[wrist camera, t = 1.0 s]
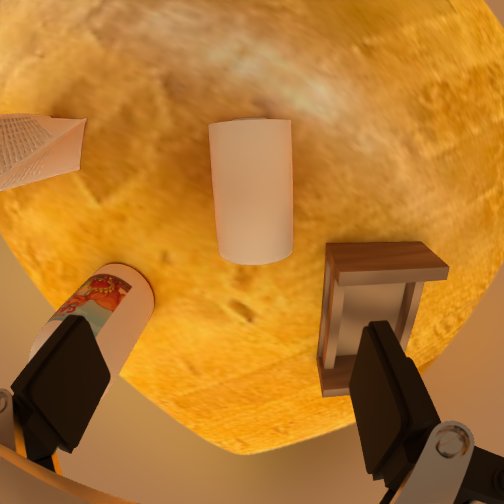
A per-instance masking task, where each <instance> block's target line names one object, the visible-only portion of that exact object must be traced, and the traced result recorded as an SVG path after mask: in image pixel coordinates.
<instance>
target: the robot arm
mask: <svg viewBox="0 0 504 504" xmlns="http://www.w3.org/2000/svg"><path fill="white" fill-rule="evenodd" d="M110 379H111V374H110V371H109V369H108V367H107V364H106V362H105V360H104V358H103V355H102V353H101V351H100V348H99V346H98V344H97V341H96V339H95V336H94V334H93V331H92V329H91V326H90V323H89V322H88V321H87V320H86V318H85V317H84V316H82V315H73V314H70V315H68V316H67V317H66V318H65V319H64V320H63V321H62V323H61V324H60V325H59V326H58V327H57V328H56V330H55V331H54V332H53V333H52V334H51V336H50V337H49V338H48V339H47V340H46V342H45V343H44V344H43V345H42V346H41V348H40V349H39V350H38V351H37V353H36V354H35V355H34V356H33V358H32V359H31V360H30V361H29V363H28V364H27V365H26V367H25V368H24V369H23V370H22V372H21V373H20V375H19V376H18V377H17V378H16V380H15V381H14V382H13V384H12V385H11V389H12V390H13V392H14V395H13V396H12V395H11V393H10V392H9V391H8V390H6V389H0V504H139V503H136V502H132V501H129V500H125V499H122V498H119V497H115V496H112V495H109V494H106V493H103V492H101V491H98V490H95V489H92V488H90V487H87V486H85V485H82V484H80V483H77V482H75V481H72V480H70V479H68V478H65V477H63V475H62V471H61V468H60V464H59V461H58V457H57V453H56V448H57V446H58V447H59V448H60V449H61V450H63V451H65V452H68V453H70V454H71V453H72V451H73V449H74V448H76V447H77V446H78V444H79V442H80V440H81V438H82V436H83V434H84V432H85V429H86V428H87V425H88V423H89V421H90V419H91V417H92V415H93V413H94V411H95V409H96V407H97V405H98V403H99V401H100V399H101V398H102V396H103V394H104V392H105V390H106V388H107V386H108V384H109V382H110ZM349 392H350V396H351V400H352V405H353V409H354V413H355V418H356V422H357V427H358V431H359V436H360V440H361V446H362V451H363V456H364V460H365V465H366V471H367V473H368V474H372V475H373V480H374V481H375V480H380V479H384V482H385V487H387V489H386V490H385V492H384V494H383V495H382V497H381V498H380V500H379V501H378V503H377V504H504V457H501V456H499V455H496V454H494V453H491V452H488V451H486V450H484V449H481V448H479V447H476V446H474V437H473V434H472V432H471V431H470V429H469V428H468V427H467V426H466V425H464V424H462V423H460V422H457V421H445V422H443V423H441V421H440V418H439V416H438V414H437V411H436V409H435V407H434V405H433V402H432V400H431V398H430V396H429V394H428V391H427V389H426V387H425V385H424V383H423V380H422V378H421V376H420V374H419V372H418V370H417V368H416V366H415V364H414V362H413V360H412V359H411V358H409V357H406V355H405V353H404V351H403V349H402V347H401V345H400V343H399V341H398V339H397V337H396V335H395V333H394V331H393V329H392V327H391V326H390V324H389V322H388V321H387V320H381V321H371V322H369V324H368V326H364V327H363V330H362V335H361V339H360V343H359V348H358V352H357V356H356V360H355V364H354V368H353V371H352V375H351V379H350V383H349Z"/></svg>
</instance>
